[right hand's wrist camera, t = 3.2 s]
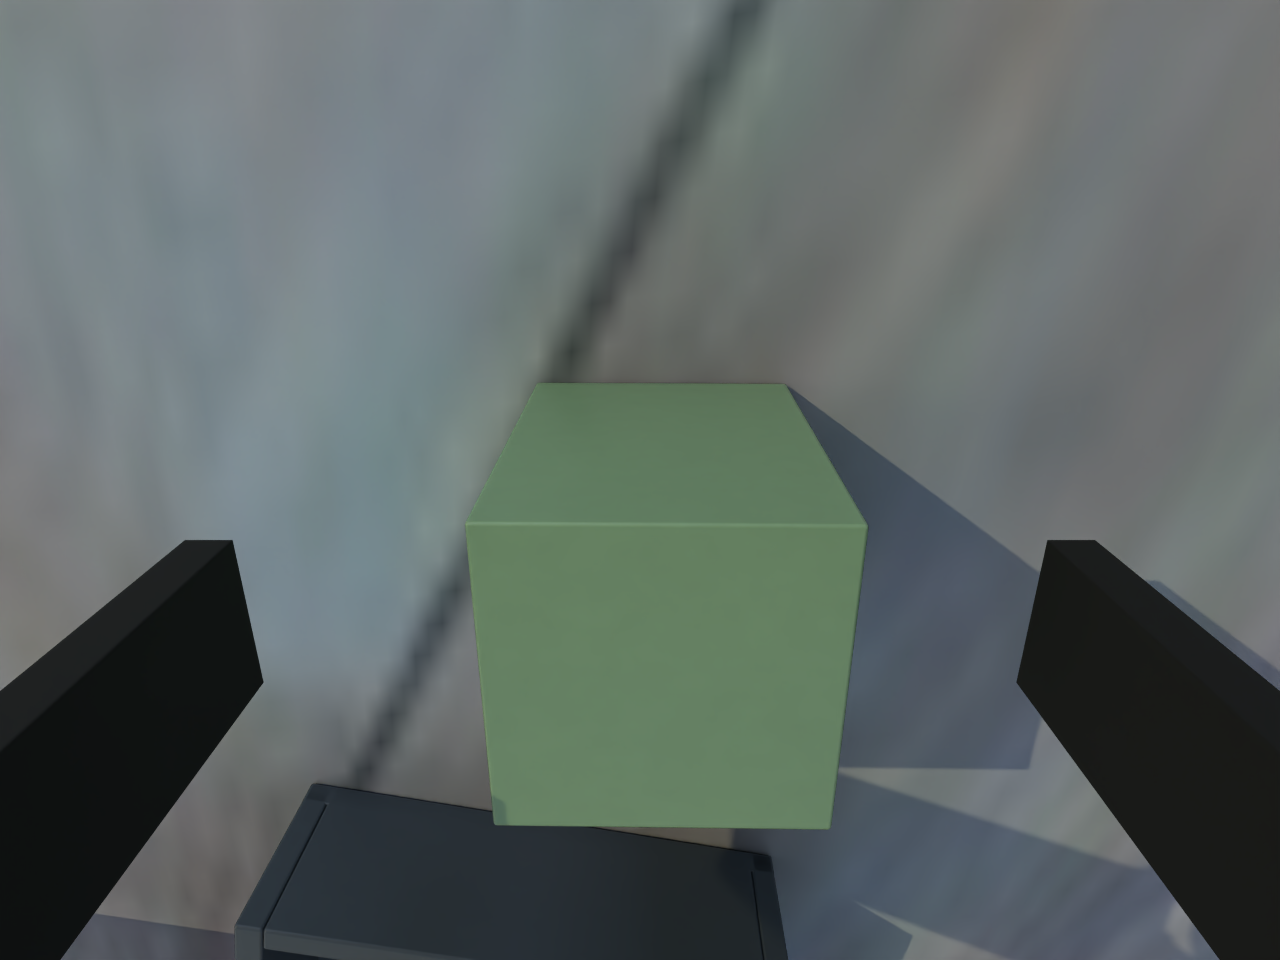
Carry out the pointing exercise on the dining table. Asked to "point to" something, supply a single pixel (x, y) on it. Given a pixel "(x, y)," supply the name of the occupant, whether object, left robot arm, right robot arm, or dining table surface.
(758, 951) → the pan
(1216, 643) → the right robot arm
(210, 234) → the dining table surface
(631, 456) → the block
